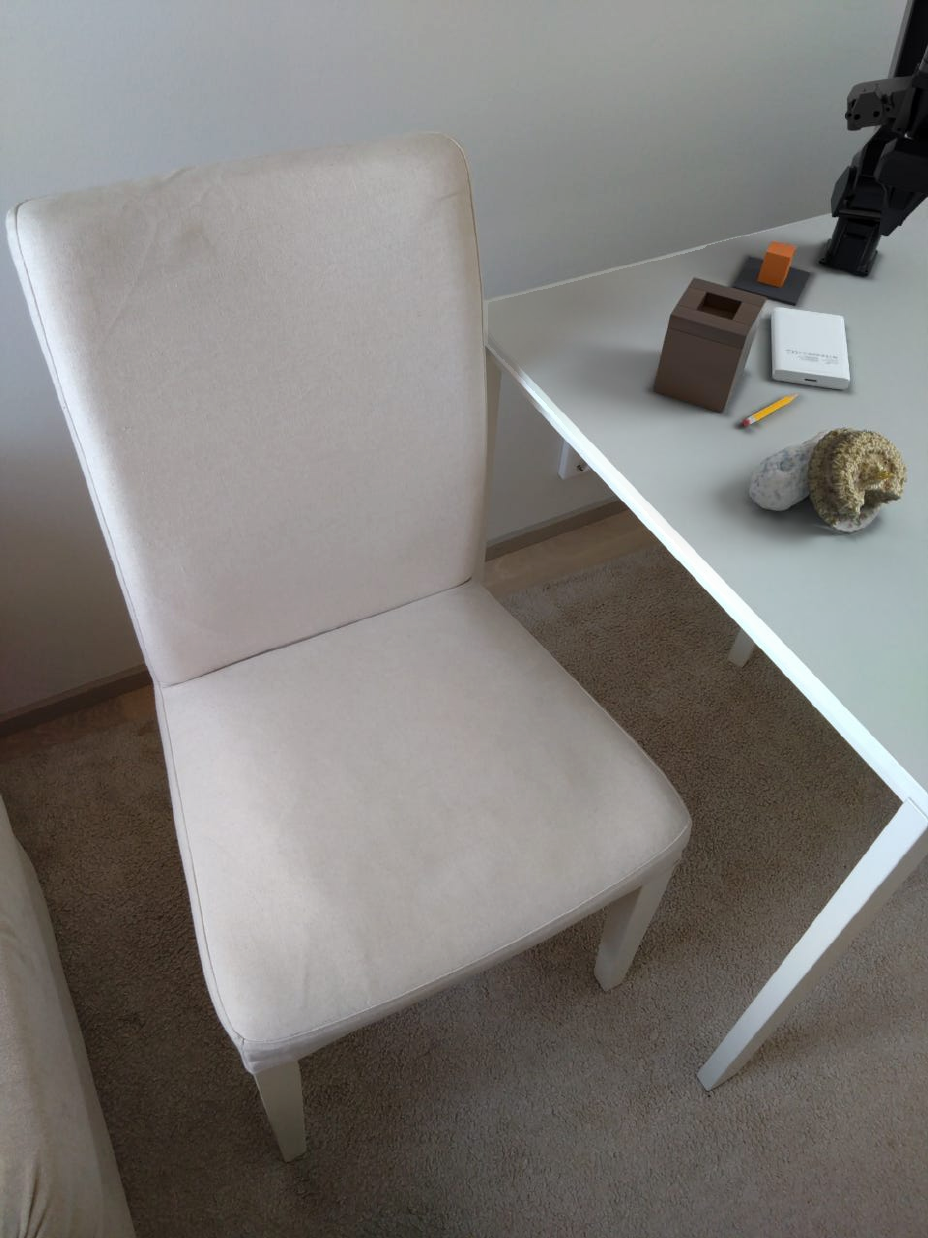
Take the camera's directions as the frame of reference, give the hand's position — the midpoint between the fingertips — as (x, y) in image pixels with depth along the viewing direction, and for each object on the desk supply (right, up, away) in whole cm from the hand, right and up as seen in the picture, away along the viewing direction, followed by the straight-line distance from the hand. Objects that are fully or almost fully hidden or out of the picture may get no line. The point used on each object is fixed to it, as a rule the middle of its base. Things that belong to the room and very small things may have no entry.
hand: (890, 216), depth 101 cm
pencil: (-14, -23, -3) cm, 27 cm away
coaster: (-9, -2, +13) cm, 16 cm away
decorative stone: (-9, -34, -11) cm, 37 cm away
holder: (-22, -19, 0) cm, 28 cm away
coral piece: (-11, -32, -14) cm, 36 cm away
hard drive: (-8, -14, +4) cm, 17 cm away
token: (-9, -2, +13) cm, 16 cm away
